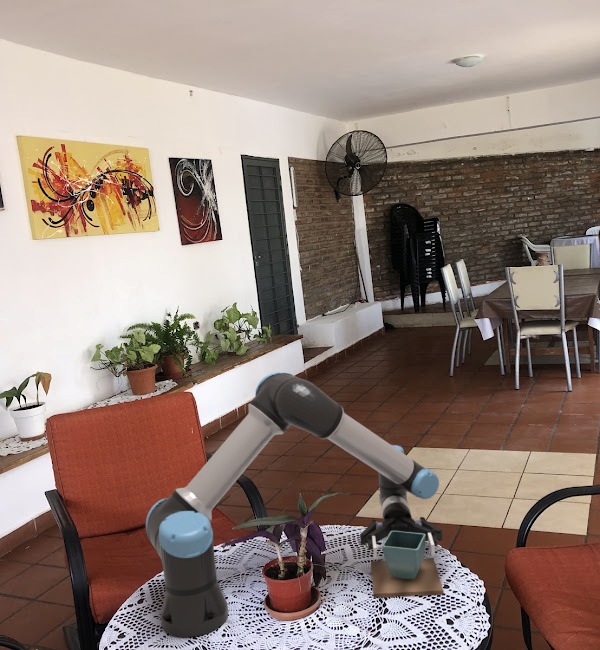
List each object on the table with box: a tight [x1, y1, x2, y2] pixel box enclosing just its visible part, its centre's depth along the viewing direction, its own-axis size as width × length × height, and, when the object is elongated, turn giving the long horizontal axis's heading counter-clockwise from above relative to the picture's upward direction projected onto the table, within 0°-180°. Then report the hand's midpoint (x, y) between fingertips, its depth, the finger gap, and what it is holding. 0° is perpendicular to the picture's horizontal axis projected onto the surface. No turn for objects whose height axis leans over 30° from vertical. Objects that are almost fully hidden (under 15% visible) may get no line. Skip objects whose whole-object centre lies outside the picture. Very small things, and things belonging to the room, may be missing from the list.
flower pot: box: [381, 531, 426, 580], centre depth 163 cm, size 9×9×9 cm
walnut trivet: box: [370, 557, 444, 599], centre depth 163 cm, size 16×16×1 cm
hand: (404, 551), depth 159 cm, fingers open, 13 cm apart
